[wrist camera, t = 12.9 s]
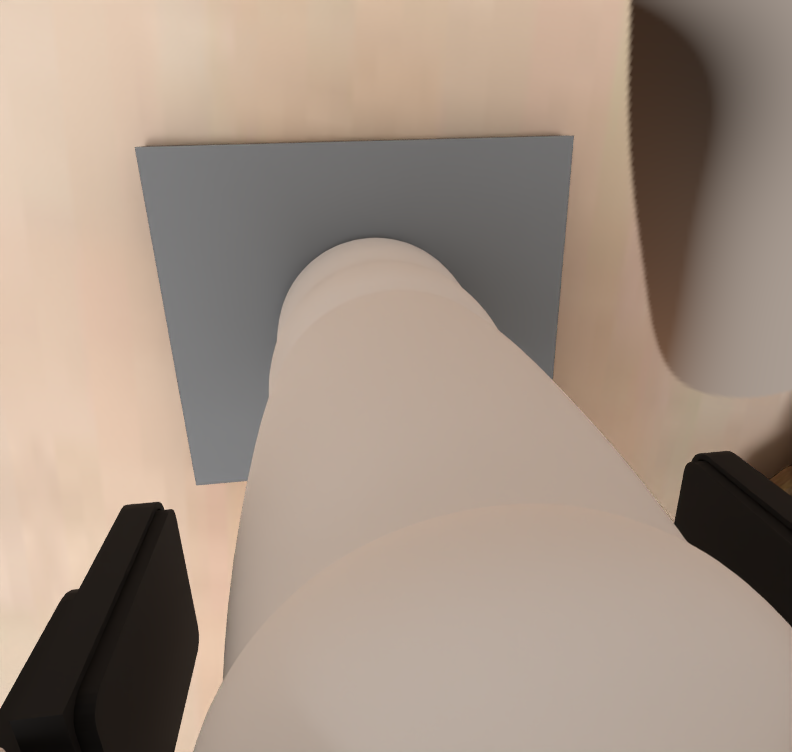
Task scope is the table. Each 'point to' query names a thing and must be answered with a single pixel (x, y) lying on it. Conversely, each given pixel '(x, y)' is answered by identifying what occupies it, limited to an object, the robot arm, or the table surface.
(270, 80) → the table surface
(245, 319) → the slate mat
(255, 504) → the water bottle
